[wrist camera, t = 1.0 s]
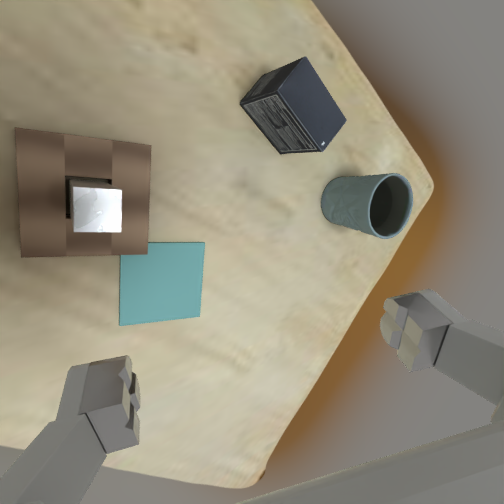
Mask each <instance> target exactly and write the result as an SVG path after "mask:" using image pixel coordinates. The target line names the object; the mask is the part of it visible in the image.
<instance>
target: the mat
mask: <svg viewBox="0 0 504 504" xmlns="http://www.w3.org/2000/svg"><path fill="white" fill-rule="evenodd" d="M204 249H205V243H204V242H148V255H120V306H119V325H120V326H124V325H133V324H141V323H150V322H158V321H167V320H175V319H184V318H192V317H200V306H201V292H202V278H203V263H204Z"/></svg>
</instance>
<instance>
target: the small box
mask: <svg viewBox="0 0 504 504" xmlns="http://www.w3.org/2000/svg"><path fill="white" fill-rule="evenodd" d="M240 105H241V106H242V108H243V109H244V110H245V111H246V113H247V114H248V115H249V116H250V117H251V119H252V120H253V121H254V122H255V124H256V125H257V126H258V127H259V128H260V130H261V131H262V132H263V133H264V135H265V136H266V137H267V138H268V140H269V141H270V142H271V143H272V144H273V146H274V147H275V148H276V149H277V150H278V152H279V153H280V154H287V153H305V152H323V151H324V150H325V149H326V147H327V146H328V145H329V143H330V142H331V141H332V139H333V138H334V137H335V136H336V134H337V133H338V132H339V130H340V129H341V128H342V126H343V125H344V124H345V122H346V121H347V120H346V118H345V116H344V115H343V113H342V112H341V110H340V109H339V107H338V106H337V104H336V103H335V101H334V100H333V98H332V96H331V95H330V93H329V92H328V90H327V89H326V87H325V85H324V84H323V82H322V81H321V79H320V78H319V76H318V75H317V73H316V71H315V70H314V68H313V67H312V65H311V63H310V62H309V60H308V59H307V57H306V56H305V57H303V58H301V59H298V60H296V61H294V62H292V63H290V64H287V65H285V66H283V67H280V68H278V69H276V70H273V71H271V72H269V73H267V74H264V75H263V76H262V77H261V78H260V79H259V80H258V81H257V83H256V84H255V85H254V86H253V87H252V88H251V90H250V91H249V92H248V93H247V94H246V95H245V97H244V98H243V99H242V100H241V102H240Z"/></svg>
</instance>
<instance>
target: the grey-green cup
mask: <svg viewBox="0 0 504 504" xmlns="http://www.w3.org/2000/svg"><path fill="white" fill-rule="evenodd" d="M412 206H413V193H412V188H411V186H410V183H409V182H408V180H407V179H406V178H405V177H404V176H402V175H400V174H397V173H391V174H380V175H372V176H371V175H368V176H360V177H358V176H357V177H355V176H352V177H339V178H336V179H334V180H332V181H331V182H330V183H329V184H328V185H327V186H326V188H325V189H324V192H323V194H322V199H321V208H322V211H323V214H324V215H325V217H326V218H327V219H328V220H329V221H330V222H332V223H335V224H338V225H343V226H346V227H348V228H351V229H355V230H360V231H361V232H364V233H367V234H370V235H373V236H376V237H379V238H382V239H389V238H392V237H394V236H396V235H397V234H399V233H400V232H401V231H402V230H403V228H404V227H405V225H406V224H407V222H408V220H409V217H410V214H411V211H412Z"/></svg>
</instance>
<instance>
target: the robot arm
mask: <svg viewBox="0 0 504 504" xmlns="http://www.w3.org/2000/svg"><path fill="white" fill-rule="evenodd" d="M383 308H384V309H385V311H386V313H385V314H384V315H383V316H382V318H381V322H380V328H381V333H382V335H383V337H384V340H385V341H386V342H387V344H388V345H389V346H391V347H393V348H395V349H397V356H398V358H399V359H400V360H401V361H402V363H403V364H404V365H405V366H406V368H407V369H408V370H409V371H410V372H413V371H418V370H422V369H426V368H430V367H434V368H435V369H437V370H438V371H440V372H442V373H443V374H445V375H447V376H448V377H450V378H452V379H453V380H455V381H457V382H459V383H460V384H462V385H464V386H465V387H467V388H468V389H470V390H472V391H473V392H475V393H476V394H478V395H480V396H481V397H483V398H485V399H486V400H488V401H490V402H491V403H493V404H495V405H496V406H497V407H496V409H495V410H494V412H493V414H492V416H491V422H492V424H489V425H486V426H482V427H479V428H476V429H473V430H470V431H466V432H463V433H460V434H456V435H453V436H450V437H447V438H444V439H440V440H437V441H434V442H431V443H428V444H424V445H421V446H418V447H415V448H412V449H409V450H405V451H402V452H399V453H395V454H392V455H389V456H386V457H383V458H379V459H376V460H373V461H370V462H367V463H363V464H360V465H357V466H354V467H351V468H348V469H344V470H341V471H338V472H335V473H332V474H328V475H325V476H322V477H319V478H316V479H312V480H309V481H307V482H303V483H300V484H297V485H293V486H290V487H287V488H284V489H281V490H278V491H274V492H271V493H268V494H265V495H262V496H258V497H255V498H252V499H249V500H246V501H242V502H239V503H236V504H504V332H503V331H501V330H499V329H496V328H493V327H491V326H488V325H485V324H483V323H480V322H477V321H475V320H467V319H466V318H465V317H464V316H462V315H461V314H460V313H459V312H458V311H457V310H455V309H454V308H453V307H452V306H451V305H450V304H448V303H447V302H446V301H445V300H444V299H443V298H441V297H440V296H439V295H438V294H437V293H436V292H435V291H433V290H431V289H426V290H422V291H417V292H414V293H408V294H404V295H400V296H395V297H391V298H387V300H386V301H385V302H384V307H383ZM139 408H140V388H139V383H138V379H137V376H136V374H135V373H133V372H132V362H131V359H130V357H129V356H128V355H126V356H121V357H116V358H111V359H105V360H100V361H95V362H91V363H87V364H81V365H76V366H72V367H71V368H70V370H69V371H68V374H67V378H66V381H65V385H64V389H63V393H62V397H61V401H60V405H59V409H58V413H57V417H56V421H53V422H49V423H48V424H47V426H46V427H45V428H44V429H43V430H42V431H41V432H40V434H39V435H38V436H37V437H36V438H35V439H34V440H33V441H32V443H31V444H30V445H29V446H28V447H27V448H26V449H25V450H24V452H23V453H22V454H21V455H20V456H19V457H18V458H17V460H16V461H15V462H14V463H13V464H12V465H11V466H10V468H9V469H8V470H7V471H6V472H5V473H4V474H3V475H2V477H1V478H0V504H80V502H81V500H82V498H83V497H84V495H85V493H86V491H87V490H88V488H89V486H90V484H91V482H92V481H93V479H94V477H95V476H96V474H97V472H98V470H99V469H100V467H101V465H102V463H103V462H104V460H105V458H106V456H107V455H106V454H108V453H111V452H115V451H118V450H122V449H125V448H128V447H132V446H135V445H139V430H140V421H139V418H138V415H137V413H136V412H137V411H138V409H139Z"/></svg>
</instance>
